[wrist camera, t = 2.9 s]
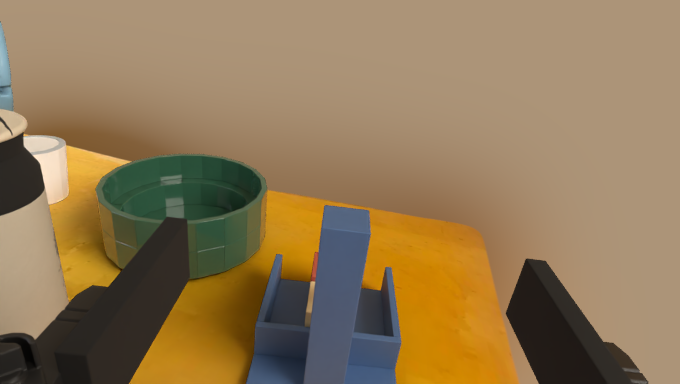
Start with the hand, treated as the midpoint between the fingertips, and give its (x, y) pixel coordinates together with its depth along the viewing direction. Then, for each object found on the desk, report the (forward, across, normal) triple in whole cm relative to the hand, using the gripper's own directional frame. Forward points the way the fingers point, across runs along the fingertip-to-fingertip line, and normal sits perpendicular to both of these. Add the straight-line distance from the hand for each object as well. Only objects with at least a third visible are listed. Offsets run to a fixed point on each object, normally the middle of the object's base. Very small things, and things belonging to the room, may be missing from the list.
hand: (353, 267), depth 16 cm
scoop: (+15, 0, -18) cm, 23 cm away
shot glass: (+33, -37, -18) cm, 53 cm away
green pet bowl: (+28, -17, -18) cm, 37 cm away
